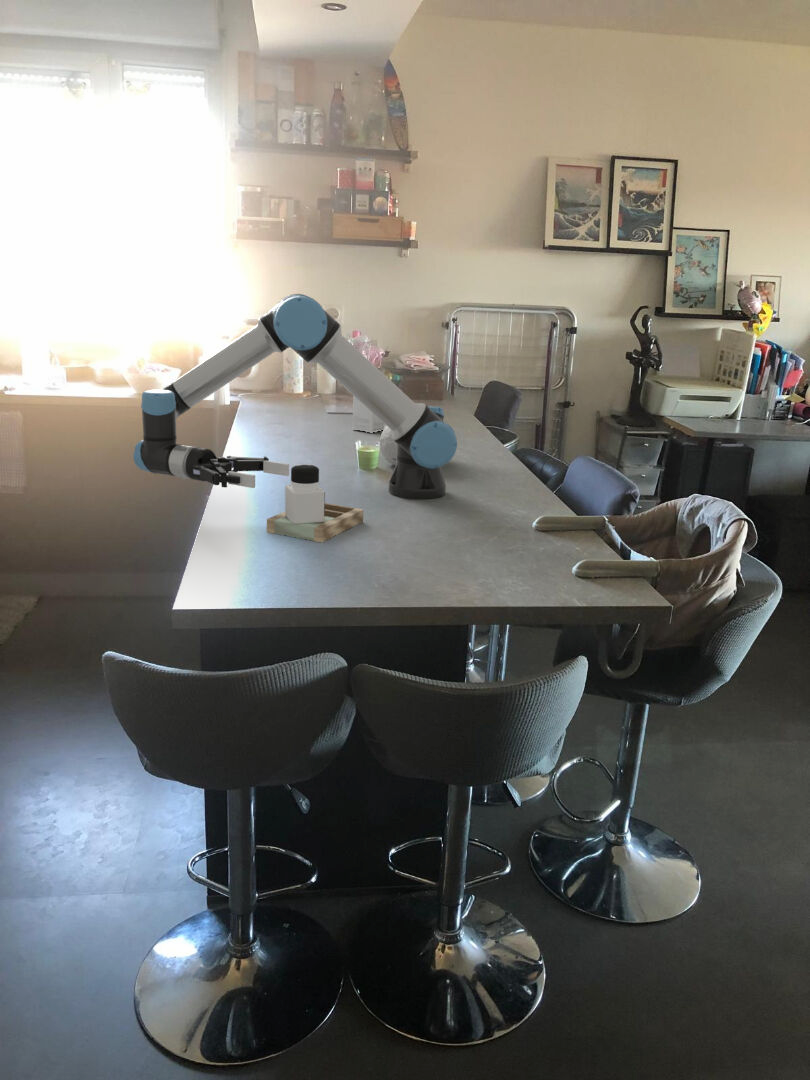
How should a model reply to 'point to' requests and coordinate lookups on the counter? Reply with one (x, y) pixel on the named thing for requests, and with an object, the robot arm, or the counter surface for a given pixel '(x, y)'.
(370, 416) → the supplement box
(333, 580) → the counter surface
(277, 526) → the board
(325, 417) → the counter surface
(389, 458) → the cauliflower
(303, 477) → the medicine bottle
